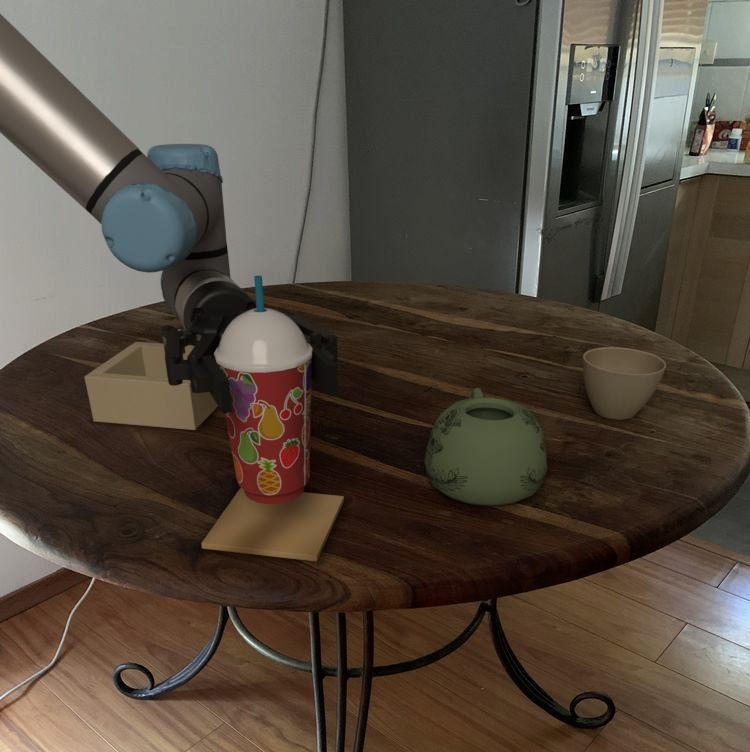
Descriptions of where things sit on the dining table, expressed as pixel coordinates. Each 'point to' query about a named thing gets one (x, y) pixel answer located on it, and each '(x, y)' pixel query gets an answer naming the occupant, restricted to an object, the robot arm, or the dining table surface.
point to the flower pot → (620, 380)
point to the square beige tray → (145, 391)
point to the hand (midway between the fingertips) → (280, 388)
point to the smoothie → (268, 402)
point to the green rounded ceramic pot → (486, 452)
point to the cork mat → (276, 526)
